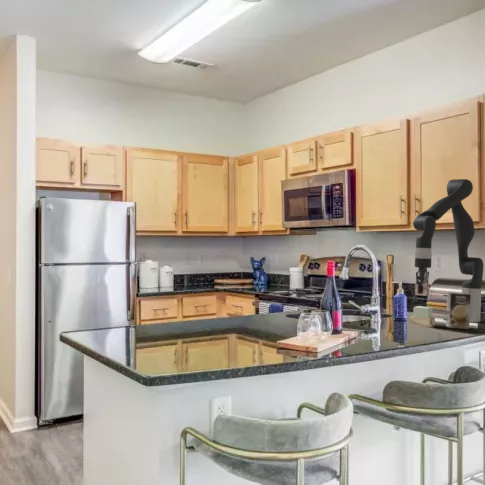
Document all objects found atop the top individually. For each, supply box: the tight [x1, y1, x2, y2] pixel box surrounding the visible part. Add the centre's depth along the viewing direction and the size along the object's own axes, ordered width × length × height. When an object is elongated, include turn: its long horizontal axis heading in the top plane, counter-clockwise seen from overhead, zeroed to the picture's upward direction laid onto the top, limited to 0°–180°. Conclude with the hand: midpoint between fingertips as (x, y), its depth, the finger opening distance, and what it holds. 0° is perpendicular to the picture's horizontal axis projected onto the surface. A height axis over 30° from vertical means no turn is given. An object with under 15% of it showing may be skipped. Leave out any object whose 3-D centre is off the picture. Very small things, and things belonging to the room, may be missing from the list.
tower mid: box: [412, 305, 433, 318], centre depth 256 cm, size 7×7×4 cm
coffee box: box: [445, 292, 471, 330], centre depth 254 cm, size 9×6×16 cm
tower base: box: [409, 315, 436, 328], centre depth 256 cm, size 9×9×4 cm
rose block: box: [414, 282, 430, 297], centre depth 257 cm, size 5×5×6 cm
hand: (421, 293), depth 257 cm, fingers closed on rose block, 5 cm apart
